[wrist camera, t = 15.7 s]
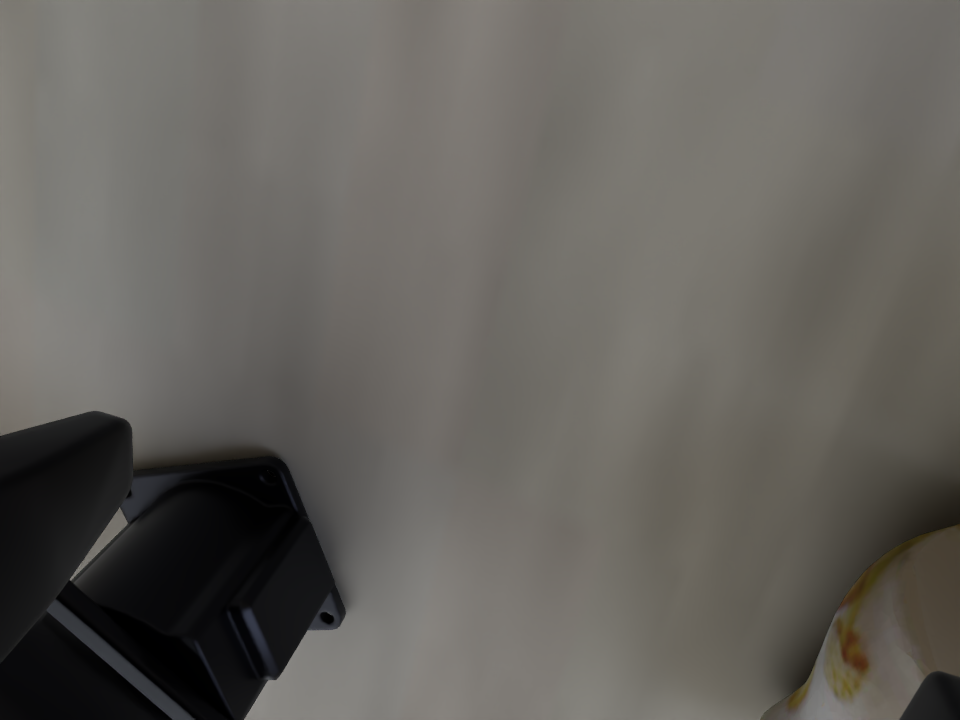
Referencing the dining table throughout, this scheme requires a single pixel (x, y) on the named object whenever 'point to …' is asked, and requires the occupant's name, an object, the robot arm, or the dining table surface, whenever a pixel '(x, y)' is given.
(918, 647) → the mug
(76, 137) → the dining table surface
